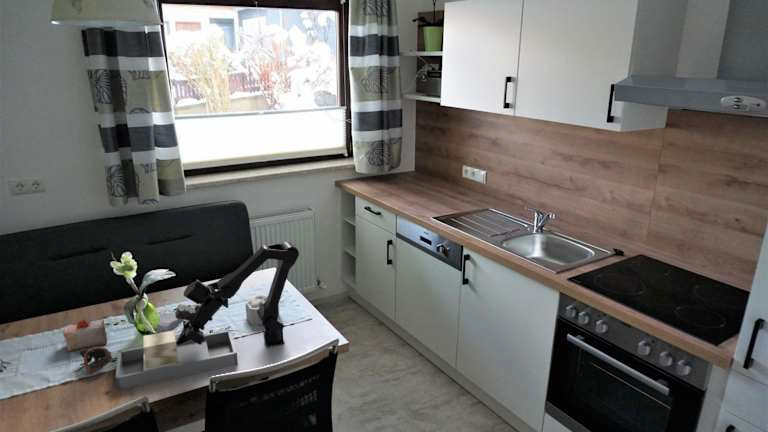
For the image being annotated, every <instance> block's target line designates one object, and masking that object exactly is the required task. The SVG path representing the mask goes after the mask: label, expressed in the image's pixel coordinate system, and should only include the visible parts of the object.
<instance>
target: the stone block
mask: <svg viewBox="0 0 768 432" xmlns="http://www.w3.org/2000/svg"><path fill="white" fill-rule="evenodd" d="M159 316H160V322H159V323H157V333H163V332H168V331H173V330H174V329H175V328H176V327H177V326H179V325H180V324H181V323H183V319H177V318H176V317H175V316H176V314H175V312H165V313H162V314H160V315H159ZM157 333H156V334H157Z"/></svg>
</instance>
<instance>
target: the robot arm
mask: <svg viewBox="0 0 768 432" xmlns="http://www.w3.org/2000/svg"><path fill="white" fill-rule="evenodd" d="M299 256H300V252H299V250H298V248H297V247H296V246H295V245H294V244H293V243H292V242H290V241H284V242H282V243H273V244H267V245H266V244H265V245H261V246H260V247H259V249H258V250H256V252H255V253H254V254H252V255H251V256H250V257H249V258H248V259H246V261H245V262H243V264H241V265H240V266H238V268H237V269H236V270H235V271H233V272H230V273H227V274H225V275H224V276H223V277H221V278H220V279H219V280H218V281H215V282H212V283H208V284H207V285H206V284H204V283H203V282H201V281H200V280H199V279H196V280H195V281H193V282H191V283H190V284H188V285H187V287H186V288H185V289H184V291H183V297H184V298H187V299H188V300H190V301H191V302H194V303H195V304H197V305H196V306H194V307H192V306H188V305H184V304H178V305H177V307H176V310H175V312H174V313H175V314H176V316H175V317H176V318H177V319H183V321H182V324H183V325H182V326H183V328H182V330H181V332H180V333H179V336H178V338H177V339H176V340H177V342H176V344H177V345H180V344H182V343H185V342H187V341H189V340H192V341H194V342H196V343H198V344H199V345H201V344H202V343H203V342H204V335H205V333H204V332H203V331H204V330H205V327H206V325H207V323H208V322H212V320H213V316H215V314H216V313H217V312H218V311H219V310H220V309H221V308H222V306H223V307H225V308H227V309H228V308H229V300H231V299H232V298H234V296H235V295H236V294H237V293H238V291H239V290H240V288H241V286H242V284H243V283H244V282H245V281H246V280H247V279H248V278H249V277H250V276H251V275H252V274H253V273H254V272H255V271H257V270H258V269H259V268H260V267H261V266H262V265H264V263H266V262H267V261H268V260H277V266H276V268H275V272H274V273H275V274H274V276H273V279H272V282H271V285H270V289H269V292H268V295H267V296H268V298H267V300H266V301H265V302H264V304H263V303H260V304H259V309H258V311H257V313H258V318H259V320H260V321H261V323H262V326H263V328H264V330H263V341H264V344H266V346H267V347H268V348H269V347H273V346H279V345H283V344H285V339H284V326H285V324H284V323H283V322H282V320H281V318H280V311H279V312H278V304H279V305H280V301H281V297H282V295H283V291H284V288H285V285H286V281H287V279H288V276H289V272H290V270H291V269H292V267H294V266H295V264H296V262H297V260H298V258H299ZM278 315H279V317H278Z"/></svg>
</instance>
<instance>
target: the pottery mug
mask: <svg viewBox="0 0 768 432" xmlns="http://www.w3.org/2000/svg"><path fill="white" fill-rule="evenodd" d="M112 354H113V353H112V352H111V351H109V350H108V348H106V347H102V346H93V347H92V348H91V347H90V349H88V348H82V349H80V350H79V355H80V356H81V357H82V358H83V364H84V367H85V371H86V373H87V374H91V373H92V372H93V373H94V372H96V371H99V370H101V369H104V367H106V366H107V364H109V362H112V359H113V358H112ZM93 359H94V361H95V362H96V361H98V360H100V359H102V360H101V361H98V362H97V363H90V362H92V360H93Z"/></svg>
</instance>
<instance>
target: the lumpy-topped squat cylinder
mask: <svg viewBox="0 0 768 432" xmlns="http://www.w3.org/2000/svg"><path fill="white" fill-rule="evenodd" d="M267 298H268V295H264V296H263V294H262V295H261V294H258V295H256V296H255V297H253V298H251V299H248V300H247V301H245V315H246V320H247V321H248V322H249V324H250V325H251V326H261V325H262V323H261V321H260V320H259V318H258V313H257V311H258V309H259V304H260V303H263V304H264V302H265V301H266V300H267ZM278 312H279V313H280V303H279V304H278ZM278 317H279V318H280V314H279V315H278ZM262 326H263V325H262Z"/></svg>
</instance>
